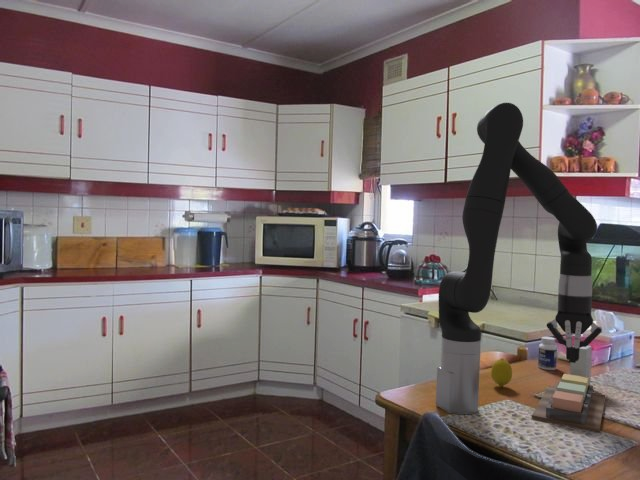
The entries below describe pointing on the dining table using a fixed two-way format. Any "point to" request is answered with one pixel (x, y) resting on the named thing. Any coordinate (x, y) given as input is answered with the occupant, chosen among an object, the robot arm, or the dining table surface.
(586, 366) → the skincare box
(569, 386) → the pad sage
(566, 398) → the pad terracotta
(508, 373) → the lemon
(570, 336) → the robot arm
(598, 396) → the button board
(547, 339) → the pill bottle
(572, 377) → the pad ochre
